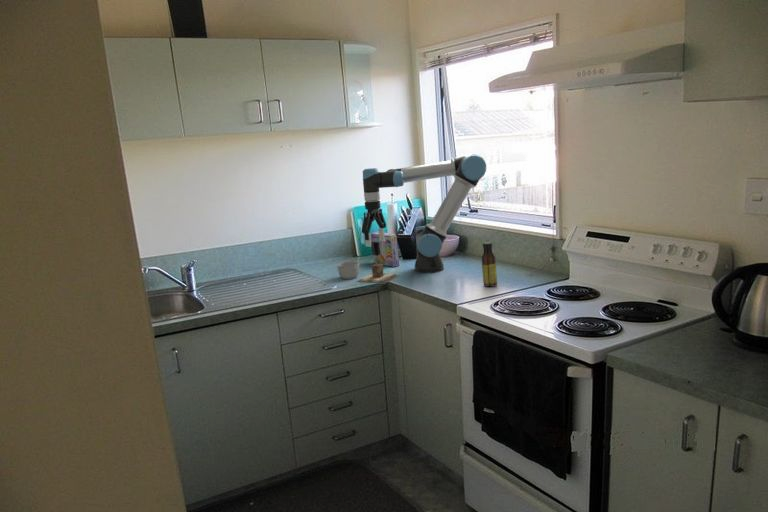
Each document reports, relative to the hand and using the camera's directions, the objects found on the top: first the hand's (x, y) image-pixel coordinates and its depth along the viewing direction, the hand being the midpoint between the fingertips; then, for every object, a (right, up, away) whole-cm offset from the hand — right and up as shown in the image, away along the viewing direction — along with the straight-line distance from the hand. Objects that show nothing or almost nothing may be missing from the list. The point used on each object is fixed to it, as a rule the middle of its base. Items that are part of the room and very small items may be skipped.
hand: (375, 243), depth 283 cm
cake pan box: (+5, -11, +35) cm, 37 cm away
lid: (+1, -17, +4) cm, 18 cm away
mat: (+1, -18, +4) cm, 18 cm away
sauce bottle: (+52, -20, -22) cm, 60 cm away
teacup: (-13, -17, +12) cm, 25 cm away
